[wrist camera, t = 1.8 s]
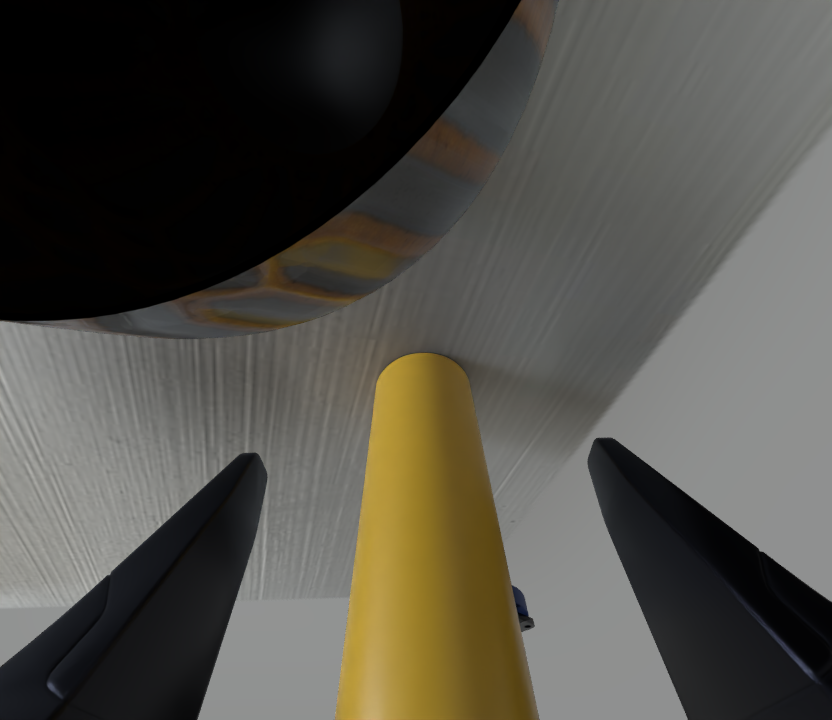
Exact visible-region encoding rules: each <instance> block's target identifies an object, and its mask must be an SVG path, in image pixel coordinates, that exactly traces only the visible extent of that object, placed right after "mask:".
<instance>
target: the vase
mask: <svg viewBox="0 0 832 720" xmlns="http://www.w3.org/2000/svg"><path fill="white" fill-rule="evenodd" d="M558 2H559V0H0V321H4V322H12V323H20V324H28V325H36V326H44V327H52V328H60V329H69V330H77V331H86V332H95V333H104V334H114V335H123V336H135V337H148V338H166V339H200V338H221V337H233V336H243V335H250V334H256V333H262V332H268V331H272V330H276V329H280V328H284V327H288V326H292V325H296V324H300V323H304V322H307V321H310V320H313V319H316V318H319V317H322V316H324V315H327V314H329V313H332V312H334V311H336V310H339V309H341V308H343V307H345V306H347V305H349V304H351V303H353V302H355V301H357V300H359V299H361V298H363V297H365V296H367V295H369V294H371V293H373V292H374V291H376V290H377V289H379V288H381V287H382V286H384V285H385V284H387V283H389V282H390V281H392V280H393V279H394V278H396V277H397V276H399V275H400V274H401V273H403V272H404V271H405V270H407V269H408V268H409V267H410V266H412V265H413V264H414V263H415V262H417V261H418V260H419V259H420V258H421V257H422V256H423V255H425V254H426V253H427V252H428V251H429V250H430V249H431V248H433V247H434V246H435V245H436V243H437V242H438V241H439V240H440V239H441V238H442V237H443V236H444V235H445V234H446V233H447V232H448V231H449V230H450V229H451V228H452V227H453V225H454V224H455V223H456V222H457V221H458V220H459V218H460V217H461V216H462V215H463V214H464V212H465V211H466V210H467V208H468V207H469V206H470V204H471V203H472V202H473V200H474V199H475V198H476V196H477V195H478V193H479V192H480V191H481V189H482V188H483V186H484V184H485V183H486V181H487V180H488V178H489V176H490V175H491V173H492V172H493V170H494V168H495V167H496V165H497V163H498V161H499V160H500V158H501V156H502V154H503V152H504V150H505V148H506V147H507V145H508V143H509V141H510V139H511V137H512V135H513V133H514V130H515V128H516V126H517V124H518V122H519V120H520V117H521V115H522V113H523V111H524V109H525V106H526V103H527V101H528V98H529V96H530V93H531V90H532V88H533V85H534V83H535V80H536V77H537V75H538V72H539V68H540V65H541V62H542V59H543V56H544V53H545V50H546V47H547V43H548V40H549V37H550V33H551V29H552V25H553V22H554V18H555V14H556V10H557V6H558Z"/></svg>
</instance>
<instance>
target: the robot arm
mask: <svg viewBox="0 0 832 720" xmlns="http://www.w3.org/2000/svg"><path fill="white" fill-rule="evenodd" d="M588 468H589V472H590V475H591V478H592V482H593V485H594V488H595V492H596V495H597V498H598V502H599V505H600V508H601V512H602V515H603V518H604V521H605V524H606V526H607V528H608V532H609V534H610V536H611V539H612V541H613V543H614V546H615V548H616V551H617V553H618V555H619V558H620V560H621V562H622V564H623V567H624V569H625V571H626V574H627V576H628V579H629V581H630V584H631V585H632V588H633V591H634V593H635V595H636V598H637V600H638V602H639V605H640V607H641V609H642V612H643V614H644V617H645V619H646V621H647V624H648V626H649V628H650V631H651V633H652V635H653V638H654V640H655V643H656V645H657V647H658V650H659V652H660V654H661V656H662V659H663V661H664V664H665V666H666V668H667V671H668V673H669V675H670V678H671V680H672V683H673V685H674V687H675V689H676V692H677V694H678V697H679V699H680V701H681V704H682V706H683V708H684V711H685V713H686V716H687V718H688V720H832V602H831V601H829V600H828V599H826V598H825V597H823V596H822V595H821V594H819V593H818V592H816V591H815V590H814V589H812V588H810V587H809V586H808V585H807V584H805V583H804V582H803V581H801V580H800V579H798V578H797V577H796V576H795V575H793V574H792V573H790V572H789V571H788V570H786V569H785V568H784V567H782V566H781V565H779V564H778V563H777V562H775V561H774V560H773V559H772V558H770V557H769V556H768V555H767V554H765V553H764V552H760V551H759V549H758V548H757V547H756V546H754V545H753V544H752V543H750V542H749V541H748V540H747V539H745V538H744V537H743V536H741V535H740V534H739V533H737V532H736V531H735V530H733V529H732V528H731V527H729V526H728V525H727V524H725V523H724V522H723V521H722V520H720V519H719V518H718V517H716V516H715V515H714V514H712V513H711V512H710V511H708V510H707V509H706V508H704V507H703V506H702V505H701V504H699V503H698V502H697V501H695V500H694V499H693V498H691V497H690V496H689V495H687V494H686V493H685V492H683V491H682V490H681V489H680V488H678V487H677V486H676V485H674V484H673V483H672V482H670V481H669V480H667V479H666V478H665V477H663V476H662V475H661V474H660V473H658V472H657V471H656V470H655V469H653V468H652V467H651V466H649V465H648V464H647V463H645V462H644V461H643V460H641V459H640V458H639V457H637V456H636V455H635V454H633V453H632V452H631V451H629V450H628V449H627V448H626V447H624V446H623V445H621V444H620V443H619V442H618V441H616V440H615V439H613V438H596V439H595V440H594V442H593V445H592V448H591V451H590V454H589V457H588ZM266 484H267V471H266V469H265V467H264V465H263V462H262V460H261V458H260V456H259V454H257V453H242V454H240V455H239V456H237V457H236V458H235V459H234V460H233V461H232V462H231V463H230V464H229V465H228V466H227V467H225V468H224V469H223V470H222V471H221V472H220V473H219V474H218V475H217V476H216V477H215V478H213V479H212V480H211V481H210V482H209V483H208V484H207V485H206V486H205V487H204V488H202V489H201V490H200V491H199V492H198V493H197V494H196V495H195V496H194V497H193V498H192V499H190V500H189V501H188V502H187V503H186V504H185V505H184V506H183V507H182V508H181V509H179V510H178V511H177V512H176V513H175V514H174V515H173V516H172V517H171V518H170V519H169V520H167V521H166V522H165V523H164V524H163V525H162V526H161V527H160V528H159V529H158V530H157V531H155V532H154V533H153V534H152V535H151V536H150V537H149V538H148V539H147V540H146V541H144V542H143V543H142V544H141V545H140V546H139V547H138V548H137V549H136V550H135V551H134V552H132V553H131V554H130V555H129V556H128V557H127V558H126V559H125V560H124V561H123V562H121V563H120V564H119V565H118V566H117V567H116V568H115V569H114V570H113V571H112V572H111V574H110V575H107V576H106V577H105V578H104V579H103V580H102V581H101V582H99V583H98V584H97V585H96V586H95V587H94V588H93V589H92V590H91V591H90V592H88V593H87V594H86V595H85V596H84V597H83V598H82V599H81V600H79V601H78V602H77V603H76V604H75V605H74V606H73V607H72V608H70V609H69V610H68V611H67V612H66V613H65V614H64V615H62V616H61V617H60V618H59V619H58V620H57V621H55V622H54V623H53V624H52V625H51V626H49V627H48V628H47V629H46V630H45V631H44V632H42V633H41V634H40V635H39V636H38V637H36V638H35V639H34V640H33V641H31V643H29V644H28V645H27V646H25V647H24V648H23V649H22V650H21V651H19V652H18V653H17V654H16V655H14V656H13V657H12V658H11V659H9V660H8V661H7V662H6V663H5V664H3V665H2V666H1V667H0V720H197V719H198V716H199V713H200V710H201V707H202V703H203V700H204V697H205V694H206V691H207V687H208V685H209V681H210V678H211V675H212V672H213V669H214V666H215V663H216V660H217V657H218V653H219V650H220V647H221V644H222V641H223V637H224V635H225V631H226V628H227V625H228V622H229V619H230V616H231V613H232V609H233V606H234V603H235V600H236V597H237V594H238V591H239V588H240V585H241V581H242V578H243V575H244V572H245V569H246V566H247V563H248V560H249V556H250V553H251V550H252V547H253V544H254V540H255V537H256V532H257V528H258V523H259V518H260V514H261V509H262V504H263V499H264V494H265V489H266ZM517 614H518V619H519V624H520V629H521V632H523V631H525V630H528V629H531V628H533V627H534V626H535V625H534V621H533V619H532V618H531V617H528V616H526V615H524V614H521V613H519V612H517Z"/></svg>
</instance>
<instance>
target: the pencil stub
mask: <svg viewBox="0 0 832 720" xmlns="http://www.w3.org/2000/svg"><path fill="white" fill-rule="evenodd" d="M335 720H539V715H538V710H537V706H536V701H535V696H534V691H533V686H532V681H531V677H530V672H529V667H528V662H527V657H526V653H525V648H524V643H523V638H522V633H521V629H520V624H519V619H518V614H517V609H516V604H515V600H514V595H513V590H512V585H511V581H510V576H509V571H508V566H507V562H506V556H505V552H504V547H503V542H502V537H501V532H500V527H499V523H498V518H497V513H496V508H495V503H494V499H493V494H492V489H491V484H490V479H489V475H488V470H487V465H486V460H485V455H484V450H483V446H482V441H481V436H480V431H479V426H478V422H477V417H476V412H475V407H474V402H473V398H472V393H471V388H470V383H469V379H468V377H467V375H466V373H465V372H464V370H463V369H462V368H461V367H460V366H459V365H458V364H457V363H455V362H454V361H452V360H451V359H449V358H447V357H444V356H441V355H438V354H433V353H414V354H410V355H406V356H403V357H401V358H399V359H397V360H395V361H393V362H392V363H391V364H389V365H388V366H387V367H386V368H385V369H384V370H383V372H382V373H381V375H380V376H379V378H378V381H377V385H376V392H375V400H374V408H373V416H372V424H371V432H370V440H369V449H368V457H367V465H366V473H365V481H364V489H363V497H362V505H361V513H360V521H359V529H358V537H357V545H356V553H355V561H354V569H353V577H352V585H351V593H350V601H349V610H348V618H347V626H346V634H345V642H344V650H343V658H342V666H341V674H340V683H339V691H338V698H337V706H336V714H335Z"/></svg>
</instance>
